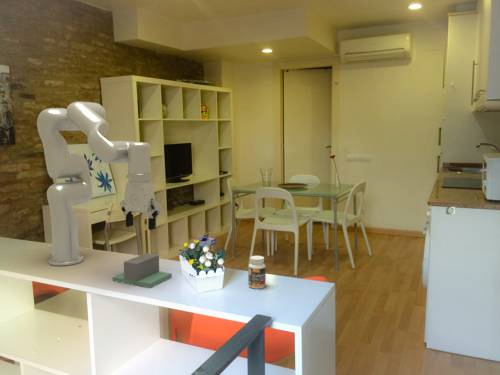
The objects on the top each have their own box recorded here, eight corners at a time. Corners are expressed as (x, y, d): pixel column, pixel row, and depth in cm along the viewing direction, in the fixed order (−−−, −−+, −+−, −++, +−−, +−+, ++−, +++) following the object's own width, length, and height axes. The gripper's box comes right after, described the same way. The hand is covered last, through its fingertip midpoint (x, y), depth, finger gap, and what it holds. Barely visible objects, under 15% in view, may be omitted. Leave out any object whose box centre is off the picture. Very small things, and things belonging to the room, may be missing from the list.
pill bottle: (252, 290, 144) (253, 260, 143) (245, 284, 149) (245, 256, 148) (268, 287, 147) (268, 258, 146) (260, 282, 152) (260, 254, 151)
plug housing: (137, 281, 148) (136, 263, 147) (123, 278, 150) (123, 261, 150) (159, 271, 159) (158, 255, 158) (146, 269, 161) (145, 253, 161)
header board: (112, 281, 153) (112, 266, 152) (135, 271, 163) (135, 257, 163) (150, 288, 146) (149, 272, 145) (171, 277, 157) (171, 262, 156)
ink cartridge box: (202, 277, 157) (202, 237, 155) (189, 275, 159) (188, 235, 158) (216, 269, 166) (216, 231, 164) (203, 267, 168) (203, 230, 167)
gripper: (112, 178, 151) (113, 227, 153) (153, 181, 144) (154, 232, 146) (127, 176, 158) (128, 223, 160) (167, 178, 150) (167, 228, 153)
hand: (140, 227), depth 153 cm, fingers open, 9 cm apart
